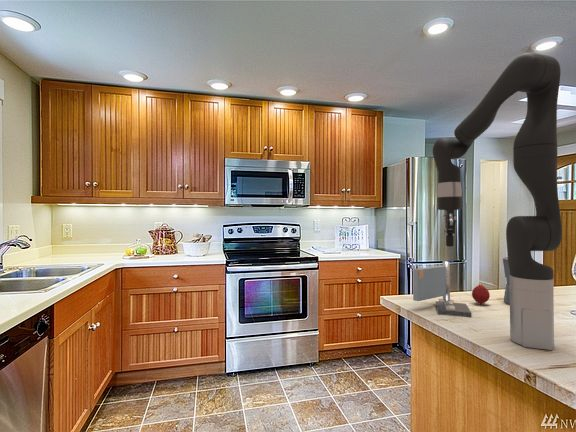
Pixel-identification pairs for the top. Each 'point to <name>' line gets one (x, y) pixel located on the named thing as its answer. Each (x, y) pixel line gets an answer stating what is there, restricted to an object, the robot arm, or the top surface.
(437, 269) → the grey standing sign
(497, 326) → the top surface
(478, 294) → the onion
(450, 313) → the grey flat base plate
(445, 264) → the hinge post
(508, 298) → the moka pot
